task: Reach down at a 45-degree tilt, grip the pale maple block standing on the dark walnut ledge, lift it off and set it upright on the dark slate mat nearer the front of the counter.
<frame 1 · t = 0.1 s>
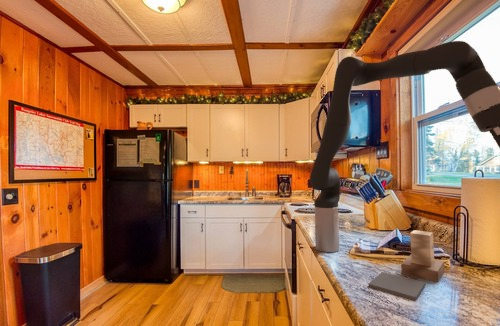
maple block: (422, 262, 78), point 3 cm above the countertop, touching walnut ledge
walnut ledge: (423, 272, 78), on the countertop
slate mat: (397, 286, 69), on the countertop
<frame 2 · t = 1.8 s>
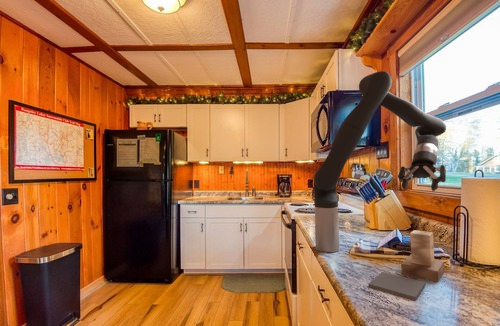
hand: (418, 189, 89), 25 cm above the countertop, tool tilted 45°, fingers open, 8 cm apart
nothing on the countertop moved.
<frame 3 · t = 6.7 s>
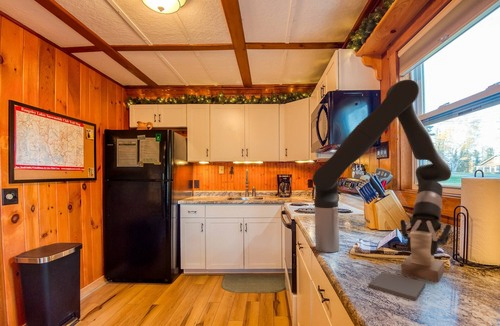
hand: (421, 251, 77), 7 cm above the countertop, tool tilted 45°, fingers closed on maple block, 5 cm apart
maple block: (422, 262, 78), point 3 cm above the countertop, touching gripper, walnut ledge
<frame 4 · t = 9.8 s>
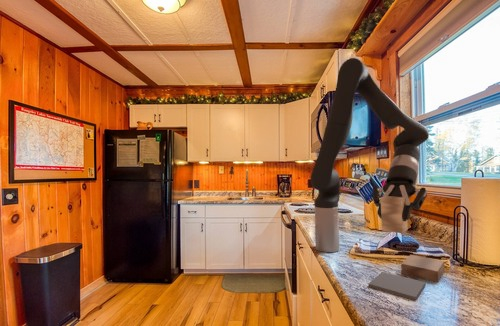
hand: (392, 218, 68), 19 cm above the countertop, tool tilted 45°, fingers closed on maple block, 5 cm apart
maple block: (394, 230, 69), point 15 cm above the countertop, touching gripper
when the fingers open (6 cm above the countertop, at t = 12.9 s): maple block drops 1 cm, resting on slate mat.
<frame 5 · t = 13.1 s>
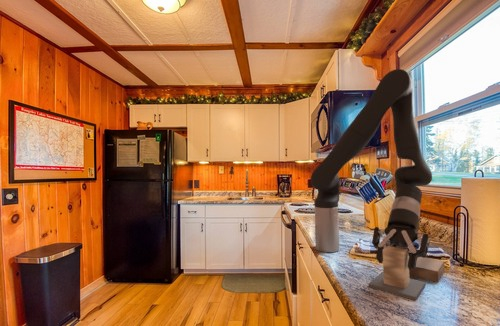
hand: (394, 264, 68), 6 cm above the countertop, tool tilted 45°, fingers open, 6 cm apart
maple block: (396, 282, 69), point 1 cm above the countertop, touching slate mat
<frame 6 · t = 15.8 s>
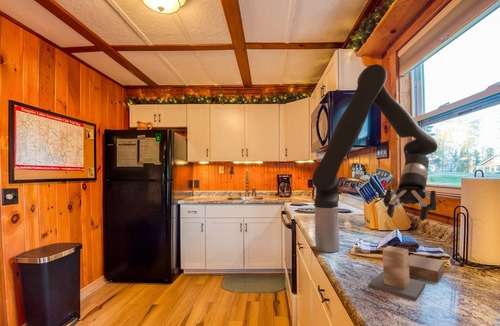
hand: (405, 217, 78), 17 cm above the countertop, tool tilted 45°, fingers open, 8 cm apart
nothing on the countertop moved.
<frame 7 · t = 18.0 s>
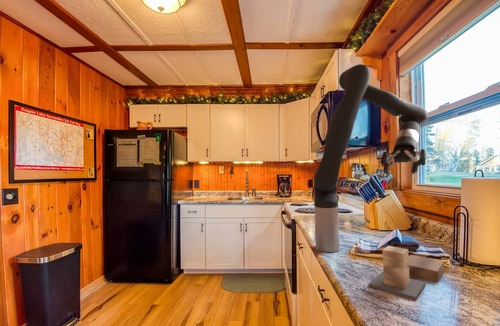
hand: (399, 172, 91), 31 cm above the countertop, tool tilted 45°, fingers open, 8 cm apart
nothing on the countertop moved.
at the end: maple block inside the target area on the slate mat (0.0 cm from its centre), point 0.8 cm above the slate mat's base; maple block tilted 0°; the gripper is holding nothing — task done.
